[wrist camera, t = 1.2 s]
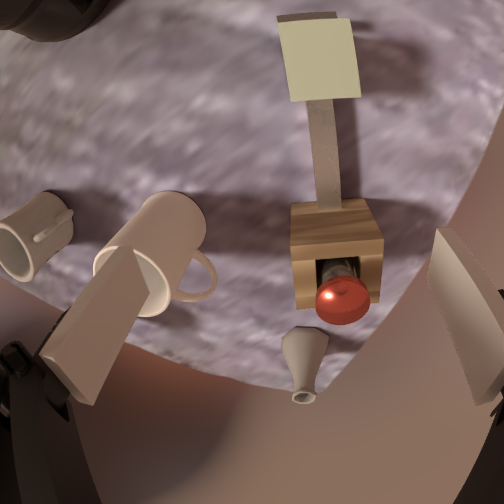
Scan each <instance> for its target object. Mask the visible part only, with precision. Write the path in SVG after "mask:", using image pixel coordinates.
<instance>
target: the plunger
mask: <svg viewBox="0 0 504 504" xmlns="http://www.w3.org/2000/svg"><path fill="white" fill-rule="evenodd" d="M320 266H321V275H322V285H321V286H320V287H319V288H318V290H317V292H316V296H315V304H316V312H317V314H318V316H319V317H320V318H321V319H322V320H324V321H325V322H327V323H330V324H334V325H346V324H350V323H353V322H355V321H357V320H359V319H360V318H362V317H363V316H364V315H365V314H366V312H367V311H368V309H369V306H370V297H369V293H368V289H367V287H366V285H365V284H364V282H363V281H361V280H360V279H358V278H356V276H355V272H354V268H353V264H352V260H351V257H342V258H329V259H320Z"/></svg>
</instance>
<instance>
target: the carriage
mask: <svg viewBox="0 0 504 504" xmlns="http://www.w3.org/2000/svg"><path fill="white" fill-rule="evenodd" d="M277 24H278V30H279V35H280V40H281V45H282V51H283V57H284V62H285V68H286V74H287V80H288V86H289V92H290V99H291V102H297V101H307V100H320V99H335V98H357V97H361V89H360V81H359V73H358V66H357V59H356V52H355V46H354V40H353V34H352V29H351V23H350V18H337V19H314V20H301V21H290V22H281V23H277Z"/></svg>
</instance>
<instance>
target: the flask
mask: <svg viewBox="0 0 504 504" xmlns="http://www.w3.org/2000/svg"><path fill="white" fill-rule="evenodd" d="M328 340H329V336H328V335H326V334H324V333H323V332H321V331H319V330H318V329H316V328H303V327H294V328H293V329H292V330H291V331H290V332H288V333H287V334H286V335H285V336H283V337H282V349H281V350H282V353H283V355H284V357H285V359H286V362H287V364H288V366H289V369H290V371H291V374H292V377H293V381H294V386H295V392H294V393H293V396H292V401H294V402H296V403H299V404H309V403H311V402H313V401H315V400H316V396H317V393H316V392H315V390H314V384H315V378H316V375H317V372H318V370H319V367H320V364H321V362H322V359H323V357H324V355H325V352H326V349H327V345H328Z"/></svg>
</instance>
